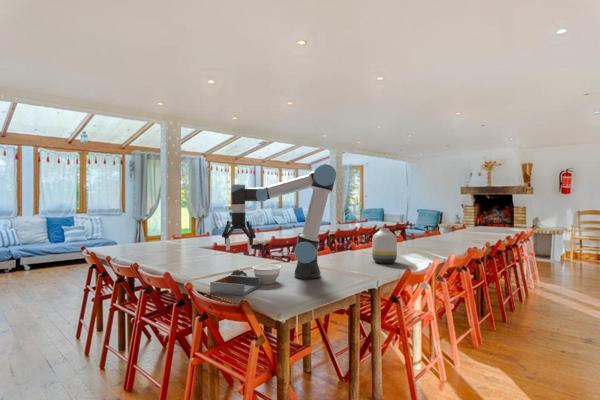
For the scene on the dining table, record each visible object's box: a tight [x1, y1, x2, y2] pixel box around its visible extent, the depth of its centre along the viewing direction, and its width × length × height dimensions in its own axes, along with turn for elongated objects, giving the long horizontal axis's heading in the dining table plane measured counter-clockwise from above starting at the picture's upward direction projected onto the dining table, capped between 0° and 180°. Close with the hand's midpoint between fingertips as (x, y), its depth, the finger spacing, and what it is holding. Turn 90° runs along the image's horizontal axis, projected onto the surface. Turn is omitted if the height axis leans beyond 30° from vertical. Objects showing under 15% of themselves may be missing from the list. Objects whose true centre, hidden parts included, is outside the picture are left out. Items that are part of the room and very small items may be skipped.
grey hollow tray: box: [209, 274, 261, 297], centre depth 172 cm, size 18×17×5 cm
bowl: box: [251, 263, 282, 285], centre depth 187 cm, size 16×16×9 cm
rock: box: [230, 269, 248, 276], centre depth 187 cm, size 11×8×10 cm
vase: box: [371, 227, 398, 265], centre depth 245 cm, size 17×17×24 cm
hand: (238, 250), depth 191 cm, fingers open, 13 cm apart
